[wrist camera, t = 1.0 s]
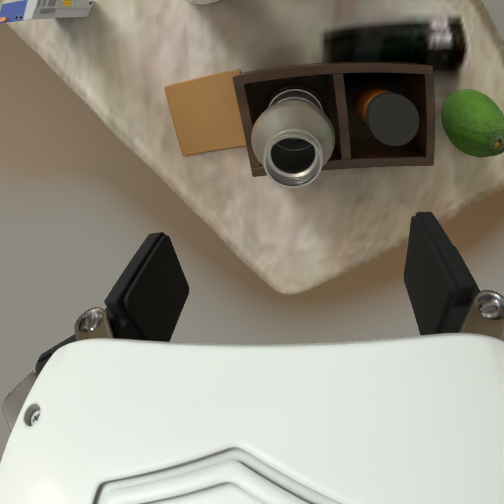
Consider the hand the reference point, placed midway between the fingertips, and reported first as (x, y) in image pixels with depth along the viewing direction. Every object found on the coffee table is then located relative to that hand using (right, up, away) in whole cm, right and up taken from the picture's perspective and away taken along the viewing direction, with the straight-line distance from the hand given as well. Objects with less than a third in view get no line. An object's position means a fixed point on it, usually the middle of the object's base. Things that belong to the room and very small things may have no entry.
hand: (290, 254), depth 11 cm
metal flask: (+4, +18, +23) cm, 29 cm away
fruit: (+25, +18, +19) cm, 36 cm away
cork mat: (-7, +18, +24) cm, 31 cm away
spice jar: (+13, +18, +21) cm, 30 cm away
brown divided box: (+8, +18, +22) cm, 29 cm away
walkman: (-27, +35, +15) cm, 47 cm away
